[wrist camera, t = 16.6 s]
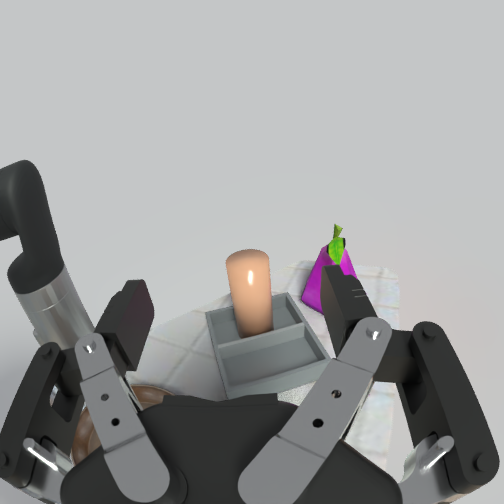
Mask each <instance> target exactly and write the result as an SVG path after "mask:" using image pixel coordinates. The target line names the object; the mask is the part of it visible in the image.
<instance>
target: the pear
mask: <svg viewBox="0 0 504 504" xmlns="http://www.w3.org/2000/svg"><path fill="white" fill-rule="evenodd" d="M341 231H342V228H341V227H339V226H338V225H336V224H335V227H334V236H333V240H332V241H331V242H330V243H329V244H328V245H326V246H325V247H323V248H322V249H321V251H320V254H319V256H318V258H317V260H316V263H315V265H314V267H313V269H312V271H311V273H310V276H309V278H308V280H307V283H306V286H305V289H304V292H303V295H302V299H301V300H302V301H303V302H304V303H305V304H306V305H307V306H309V307H311V308H312V309H314V310H316V311H318V312H320V313H321V314H323V311H322V307H321V301H320V288H321V269H322V266H326V265H336V264H339V265H340V267H341V269H342V271H343V273H344V275H349V274H351V275H353V276H354V277H355V278H357V276H356V274H355V271H354V268H353V266H352V263H351V260H350V258H349V255H348V253H347V250H346V249H344V248H345V238H340V237H338V236H339V234H340V233H341ZM323 315H324V314H323Z"/></svg>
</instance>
